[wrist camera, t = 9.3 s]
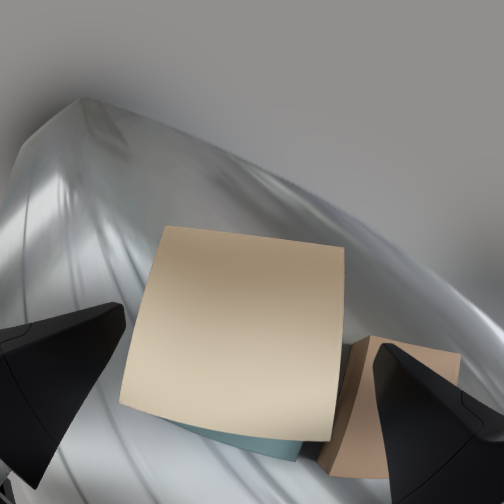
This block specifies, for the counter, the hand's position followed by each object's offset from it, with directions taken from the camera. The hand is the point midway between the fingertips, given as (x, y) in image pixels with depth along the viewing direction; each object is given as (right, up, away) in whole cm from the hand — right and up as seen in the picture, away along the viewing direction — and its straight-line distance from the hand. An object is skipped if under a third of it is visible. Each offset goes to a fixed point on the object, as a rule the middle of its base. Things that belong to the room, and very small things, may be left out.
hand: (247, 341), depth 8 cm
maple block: (0, -3, +6) cm, 7 cm away
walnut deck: (+9, -7, +5) cm, 12 cm away
